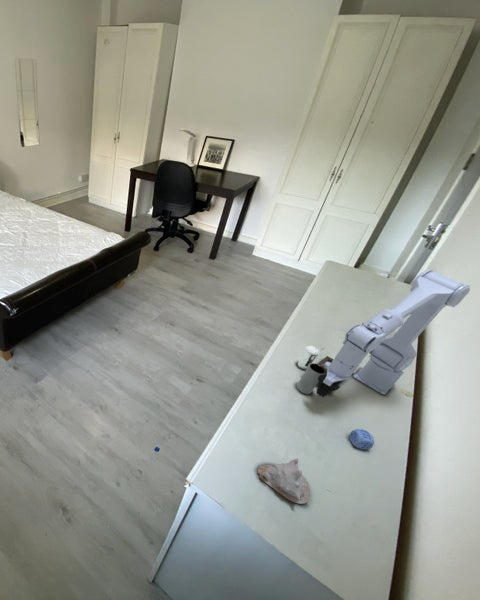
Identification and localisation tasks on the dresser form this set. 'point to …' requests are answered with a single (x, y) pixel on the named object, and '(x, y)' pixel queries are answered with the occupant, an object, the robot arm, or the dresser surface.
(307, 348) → the milkshake
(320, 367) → the grey hollow cylinder
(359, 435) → the decorative dice
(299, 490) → the seashell
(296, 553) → the dresser surface
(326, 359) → the holder
